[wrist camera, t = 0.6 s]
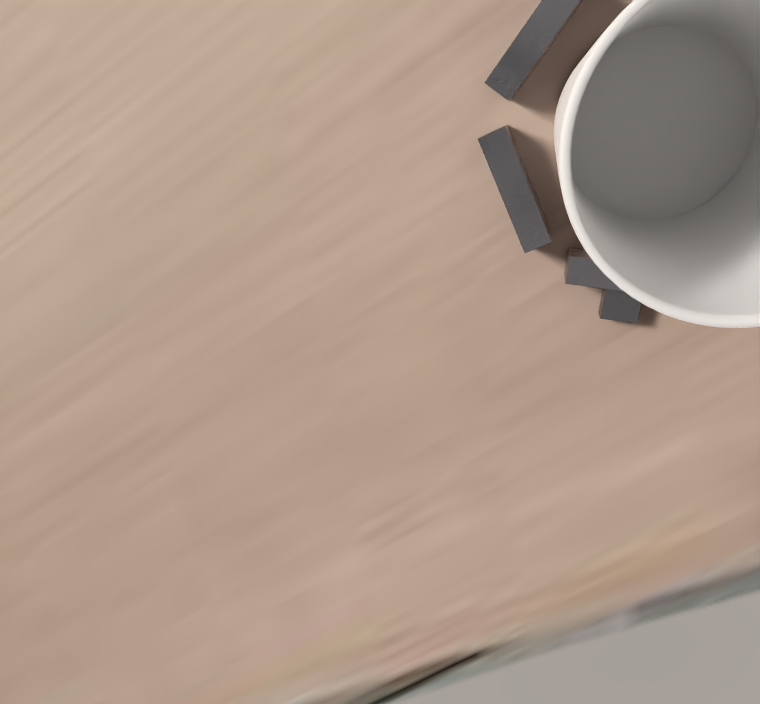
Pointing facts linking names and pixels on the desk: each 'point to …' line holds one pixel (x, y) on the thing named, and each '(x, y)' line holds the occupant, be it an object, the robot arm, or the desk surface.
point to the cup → (670, 157)
